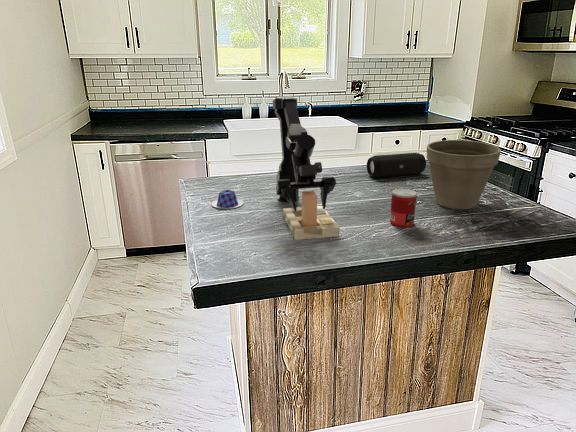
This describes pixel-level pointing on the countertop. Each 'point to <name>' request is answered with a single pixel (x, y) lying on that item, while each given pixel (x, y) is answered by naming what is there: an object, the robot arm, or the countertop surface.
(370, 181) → the countertop surface
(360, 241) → the countertop surface
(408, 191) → the canned food
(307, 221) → the plug
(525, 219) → the countertop surface
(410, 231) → the countertop surface
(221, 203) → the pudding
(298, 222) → the socket plate
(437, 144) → the plant pot
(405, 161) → the portable speaker
